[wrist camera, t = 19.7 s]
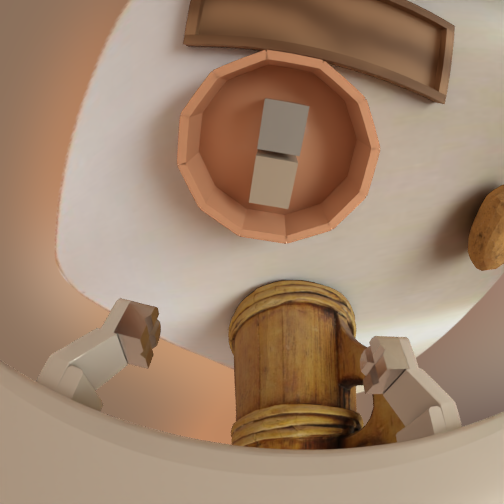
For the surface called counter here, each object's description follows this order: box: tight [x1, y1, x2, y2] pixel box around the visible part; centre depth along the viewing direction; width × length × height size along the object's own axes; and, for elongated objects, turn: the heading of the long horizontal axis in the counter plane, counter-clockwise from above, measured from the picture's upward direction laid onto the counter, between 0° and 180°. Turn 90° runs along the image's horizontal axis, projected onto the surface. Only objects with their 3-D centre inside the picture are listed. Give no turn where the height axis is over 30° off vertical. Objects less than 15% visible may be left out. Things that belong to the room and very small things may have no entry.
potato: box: [468, 185, 504, 271], centre depth 23 cm, size 10×14×8 cm
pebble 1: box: [257, 98, 309, 156], centre depth 22 cm, size 4×4×4 cm
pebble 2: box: [249, 149, 298, 209], centre depth 25 cm, size 4×4×4 cm
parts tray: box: [183, 0, 455, 104], centre depth 17 cm, size 10×26×2 cm, turn 82°
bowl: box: [177, 50, 380, 244], centre depth 23 cm, size 17×17×6 cm
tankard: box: [228, 280, 405, 450], centre depth 28 cm, size 18×24×25 cm
